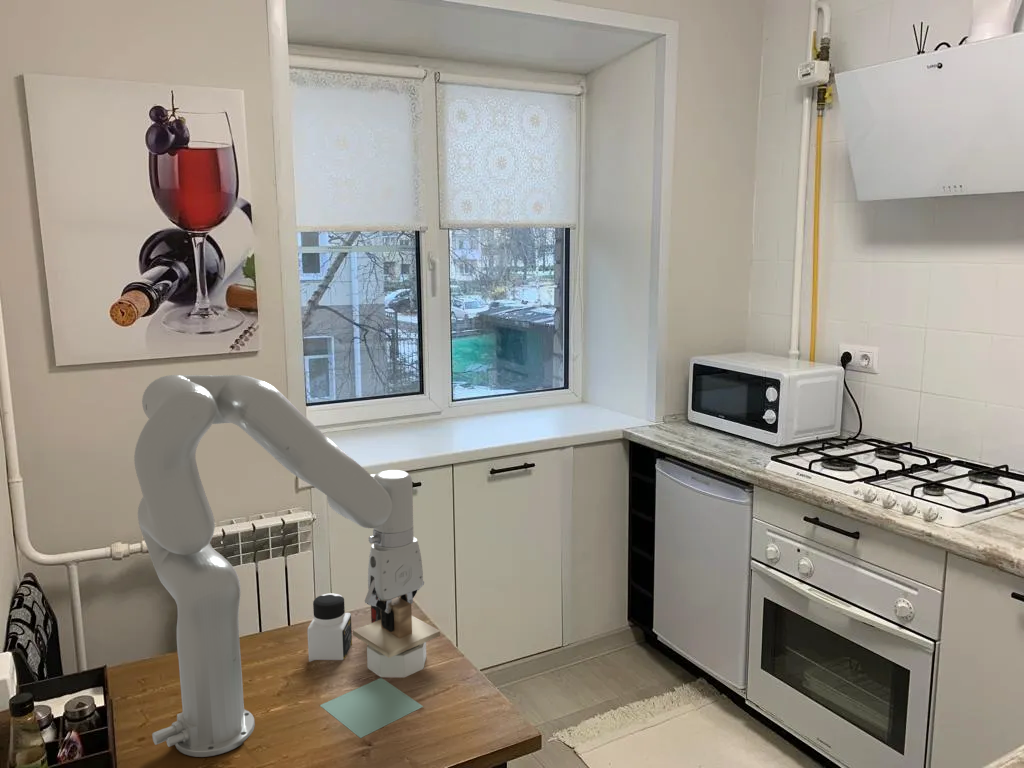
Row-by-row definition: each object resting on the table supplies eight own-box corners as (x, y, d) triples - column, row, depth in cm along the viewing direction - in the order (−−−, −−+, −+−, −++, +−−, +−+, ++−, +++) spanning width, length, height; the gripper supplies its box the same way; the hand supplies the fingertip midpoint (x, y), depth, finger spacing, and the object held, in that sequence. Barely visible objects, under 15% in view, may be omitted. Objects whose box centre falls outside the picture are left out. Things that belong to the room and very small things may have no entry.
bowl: (390, 686, 145) (389, 661, 144) (358, 664, 152) (357, 640, 152) (436, 665, 152) (435, 641, 151) (403, 645, 160) (402, 622, 159)
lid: (389, 657, 143) (387, 622, 142) (353, 635, 151) (351, 601, 150) (440, 635, 151) (439, 601, 150) (403, 615, 159) (402, 583, 158)
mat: (360, 741, 129) (360, 737, 129) (319, 708, 138) (319, 705, 138) (423, 709, 137) (423, 706, 137) (381, 680, 147) (381, 677, 147)
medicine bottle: (344, 662, 153) (342, 605, 151) (308, 662, 153) (305, 605, 151) (352, 644, 160) (350, 589, 158) (318, 644, 160) (315, 589, 158)
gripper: (368, 552, 139) (371, 647, 143) (439, 530, 151) (441, 618, 154) (345, 541, 145) (349, 633, 148) (416, 520, 156) (418, 606, 159)
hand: (396, 625), depth 151 cm, fingers closed on lid, 3 cm apart
